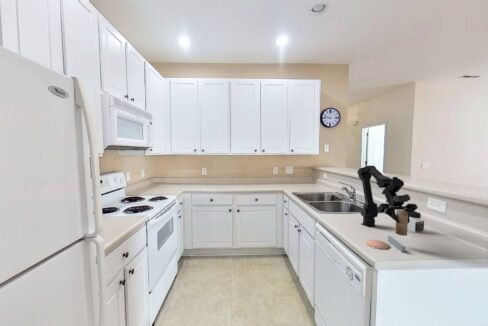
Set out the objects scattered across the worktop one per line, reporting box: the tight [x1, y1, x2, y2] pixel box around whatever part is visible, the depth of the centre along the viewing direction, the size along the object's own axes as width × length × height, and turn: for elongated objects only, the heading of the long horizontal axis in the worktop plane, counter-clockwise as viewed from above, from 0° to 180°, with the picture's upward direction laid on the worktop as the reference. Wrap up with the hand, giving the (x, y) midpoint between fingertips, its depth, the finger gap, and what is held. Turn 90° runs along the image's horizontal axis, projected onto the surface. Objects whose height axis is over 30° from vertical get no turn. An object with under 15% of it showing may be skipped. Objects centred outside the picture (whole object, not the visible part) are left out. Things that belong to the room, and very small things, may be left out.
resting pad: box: [365, 239, 390, 250], centre depth 124 cm, size 11×11×1 cm
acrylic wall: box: [387, 235, 406, 253], centre depth 122 cm, size 14×1×3 cm, turn 174°
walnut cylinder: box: [395, 210, 408, 237], centre depth 121 cm, size 5×5×12 cm
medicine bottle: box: [407, 210, 425, 234], centre depth 146 cm, size 7×7×12 cm
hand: (403, 222), depth 120 cm, fingers closed on walnut cylinder, 5 cm apart
